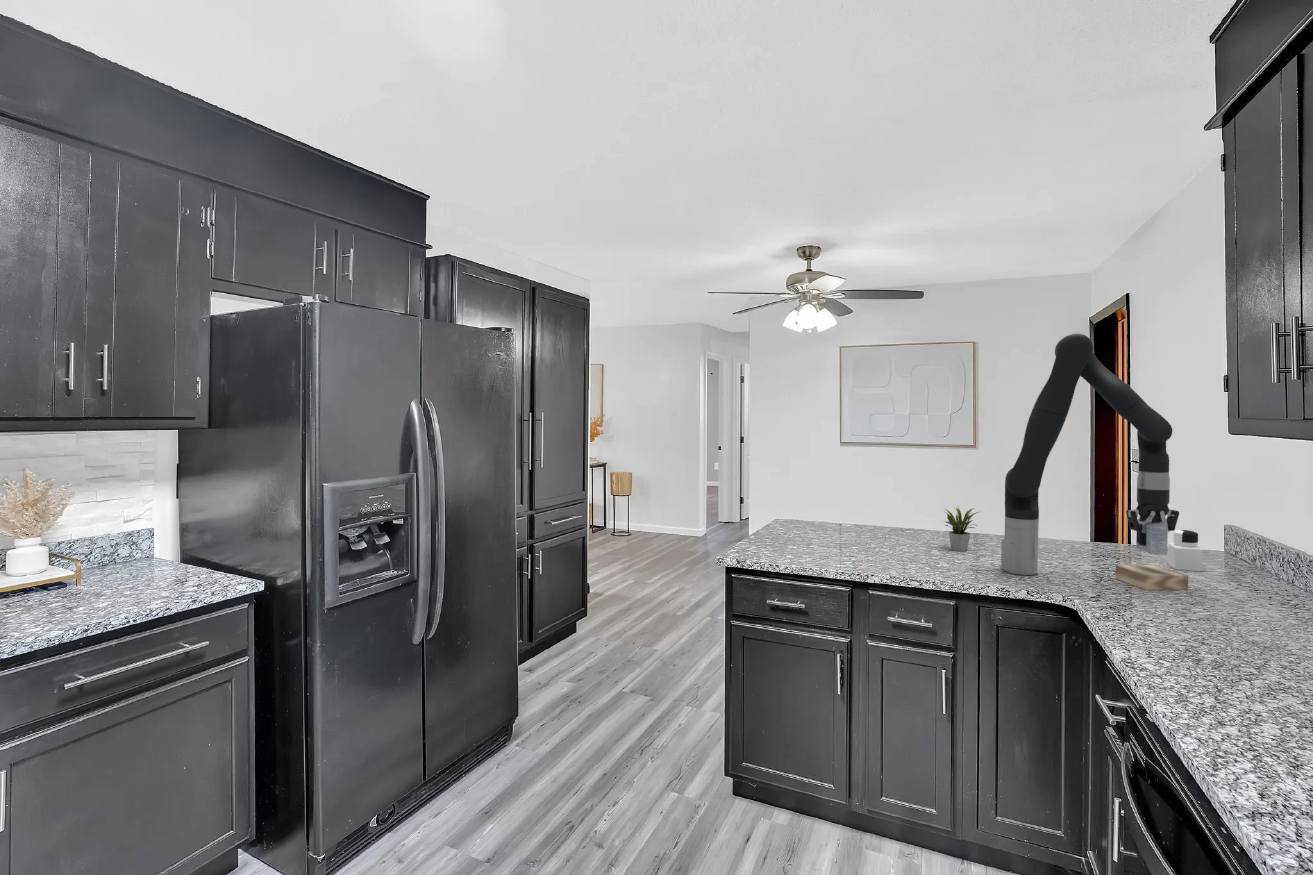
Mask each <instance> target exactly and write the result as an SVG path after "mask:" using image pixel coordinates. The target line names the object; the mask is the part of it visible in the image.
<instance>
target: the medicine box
mask: <svg viewBox="0 0 1313 875" xmlns="http://www.w3.org/2000/svg"><path fill="white" fill-rule="evenodd" d="M1143 522H1145V521H1143ZM1145 533H1146V546H1141V545H1139V544H1138V543H1137V533H1136V537H1135V538H1136V539H1135V540H1136V542H1135V545H1136V546H1135V548H1136V549H1138V550H1140V551H1143V552H1146V553H1148V554H1151V555H1164V556H1165V555H1168V545H1169V543H1168V542H1169V541H1168V540H1169V539H1168V537H1169V536H1168V535H1169V534H1168V533H1169V532H1168V525H1166V524H1163V523H1160V522H1151V524H1148V525H1147V530H1146V532H1145Z"/></svg>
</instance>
